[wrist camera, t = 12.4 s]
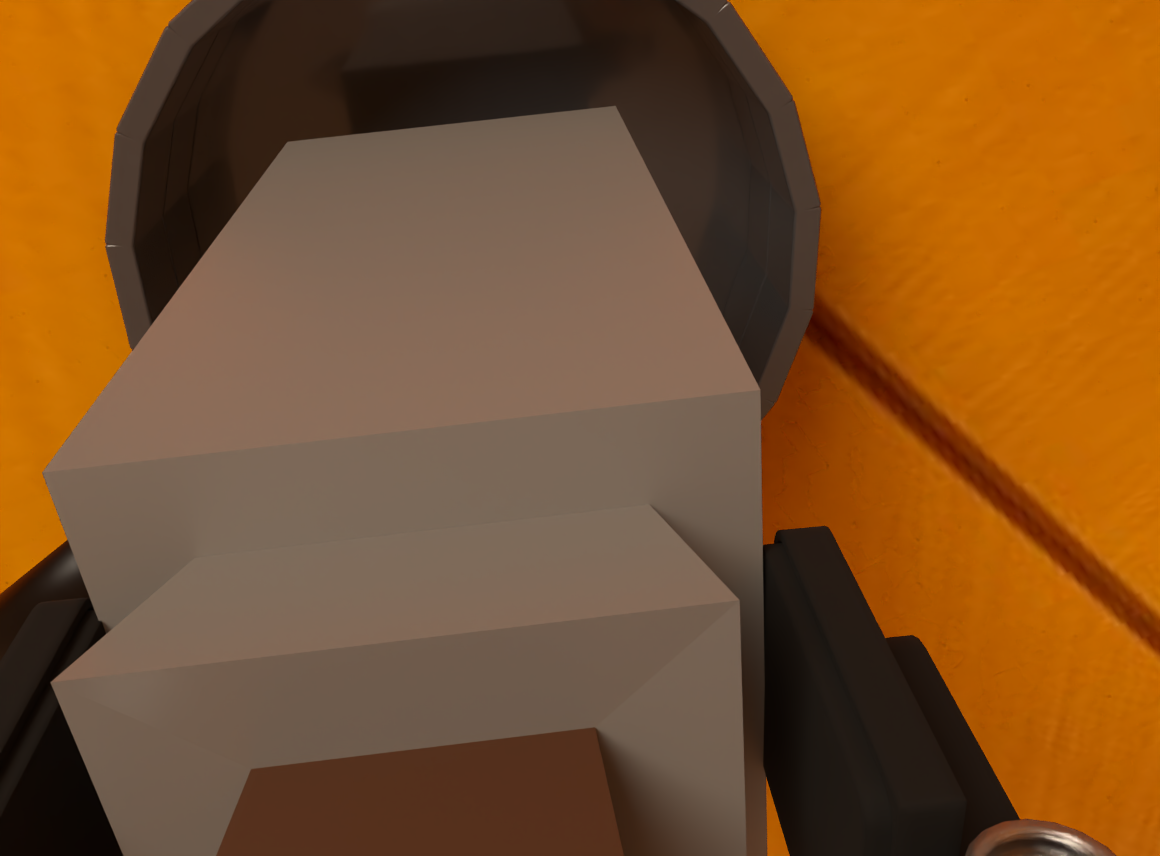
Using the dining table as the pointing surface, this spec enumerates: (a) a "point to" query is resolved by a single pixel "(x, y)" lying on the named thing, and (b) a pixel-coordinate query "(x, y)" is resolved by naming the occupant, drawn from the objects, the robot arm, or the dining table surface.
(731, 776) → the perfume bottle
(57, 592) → the pan handle
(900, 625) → the dining table surface
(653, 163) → the pan
